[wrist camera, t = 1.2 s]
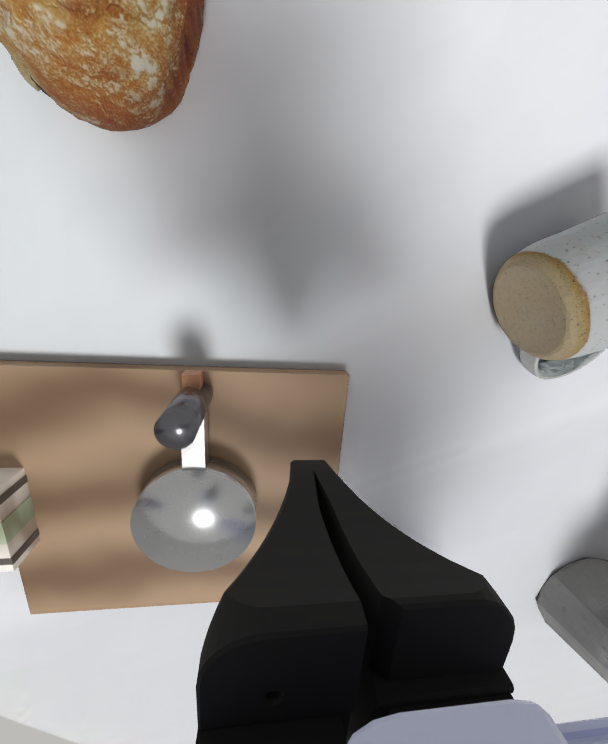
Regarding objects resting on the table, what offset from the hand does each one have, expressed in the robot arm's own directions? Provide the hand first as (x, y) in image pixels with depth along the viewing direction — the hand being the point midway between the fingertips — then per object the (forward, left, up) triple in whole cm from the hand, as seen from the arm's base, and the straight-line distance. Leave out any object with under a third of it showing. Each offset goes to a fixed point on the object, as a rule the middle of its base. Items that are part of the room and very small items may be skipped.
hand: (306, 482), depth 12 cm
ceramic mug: (+7, -18, -11) cm, 22 cm away
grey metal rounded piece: (-5, +6, -9) cm, 12 cm away
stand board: (-9, +7, -10) cm, 15 cm away
